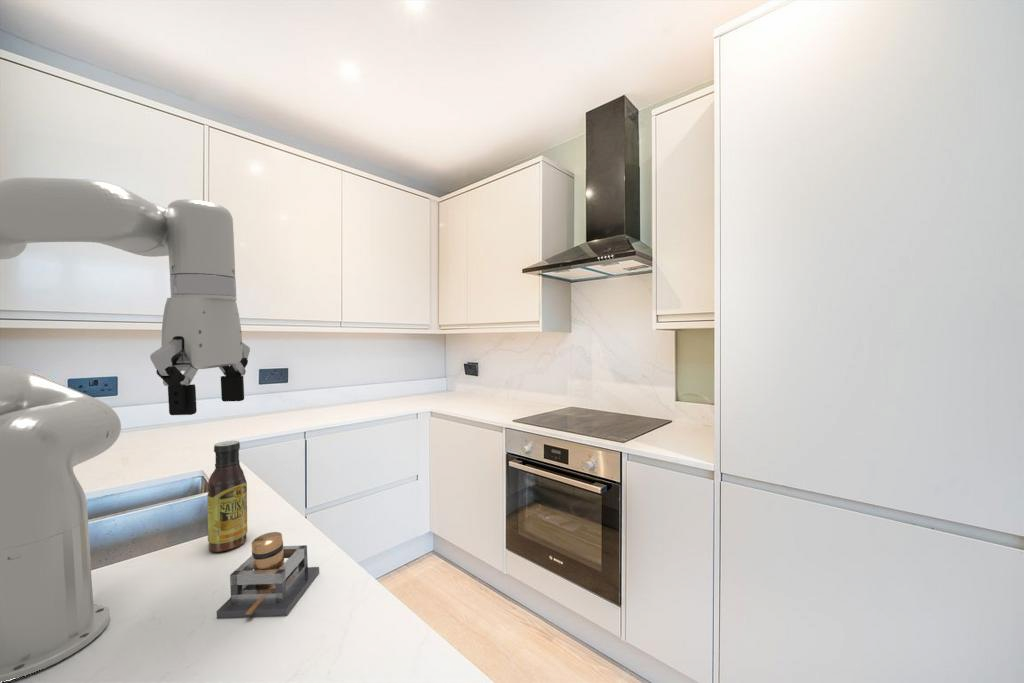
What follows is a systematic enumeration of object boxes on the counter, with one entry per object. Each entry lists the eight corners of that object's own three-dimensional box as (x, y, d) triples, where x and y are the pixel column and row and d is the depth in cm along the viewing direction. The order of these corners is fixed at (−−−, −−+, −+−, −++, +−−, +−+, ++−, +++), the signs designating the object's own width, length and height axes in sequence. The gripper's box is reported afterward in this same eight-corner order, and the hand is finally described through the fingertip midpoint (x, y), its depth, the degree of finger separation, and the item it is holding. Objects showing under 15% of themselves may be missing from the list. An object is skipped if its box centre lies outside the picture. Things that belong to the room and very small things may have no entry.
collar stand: (212, 622, 56) (210, 584, 56) (259, 574, 67) (258, 542, 66) (283, 619, 56) (282, 582, 56) (319, 572, 67) (318, 541, 67)
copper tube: (249, 596, 60) (244, 546, 59) (270, 577, 64) (265, 531, 63) (273, 598, 59) (268, 548, 58) (292, 579, 63) (288, 532, 62)
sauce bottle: (222, 556, 72) (217, 450, 72) (200, 550, 74) (195, 447, 74) (256, 538, 78) (252, 440, 78) (235, 533, 81) (230, 437, 80)
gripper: (221, 295, 66) (225, 397, 66) (120, 284, 48) (127, 422, 49) (266, 294, 66) (270, 396, 66) (182, 282, 48) (188, 420, 49)
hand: (210, 407), depth 58 cm, fingers open, 9 cm apart
